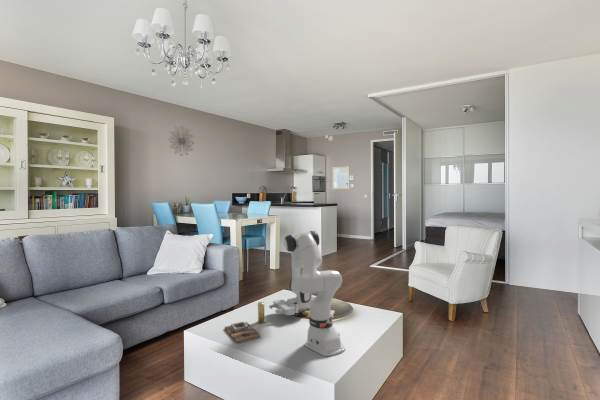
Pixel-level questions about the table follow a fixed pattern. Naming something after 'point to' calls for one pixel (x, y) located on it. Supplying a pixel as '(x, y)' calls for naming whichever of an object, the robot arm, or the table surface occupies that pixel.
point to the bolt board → (242, 332)
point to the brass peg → (261, 312)
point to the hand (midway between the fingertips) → (272, 309)
